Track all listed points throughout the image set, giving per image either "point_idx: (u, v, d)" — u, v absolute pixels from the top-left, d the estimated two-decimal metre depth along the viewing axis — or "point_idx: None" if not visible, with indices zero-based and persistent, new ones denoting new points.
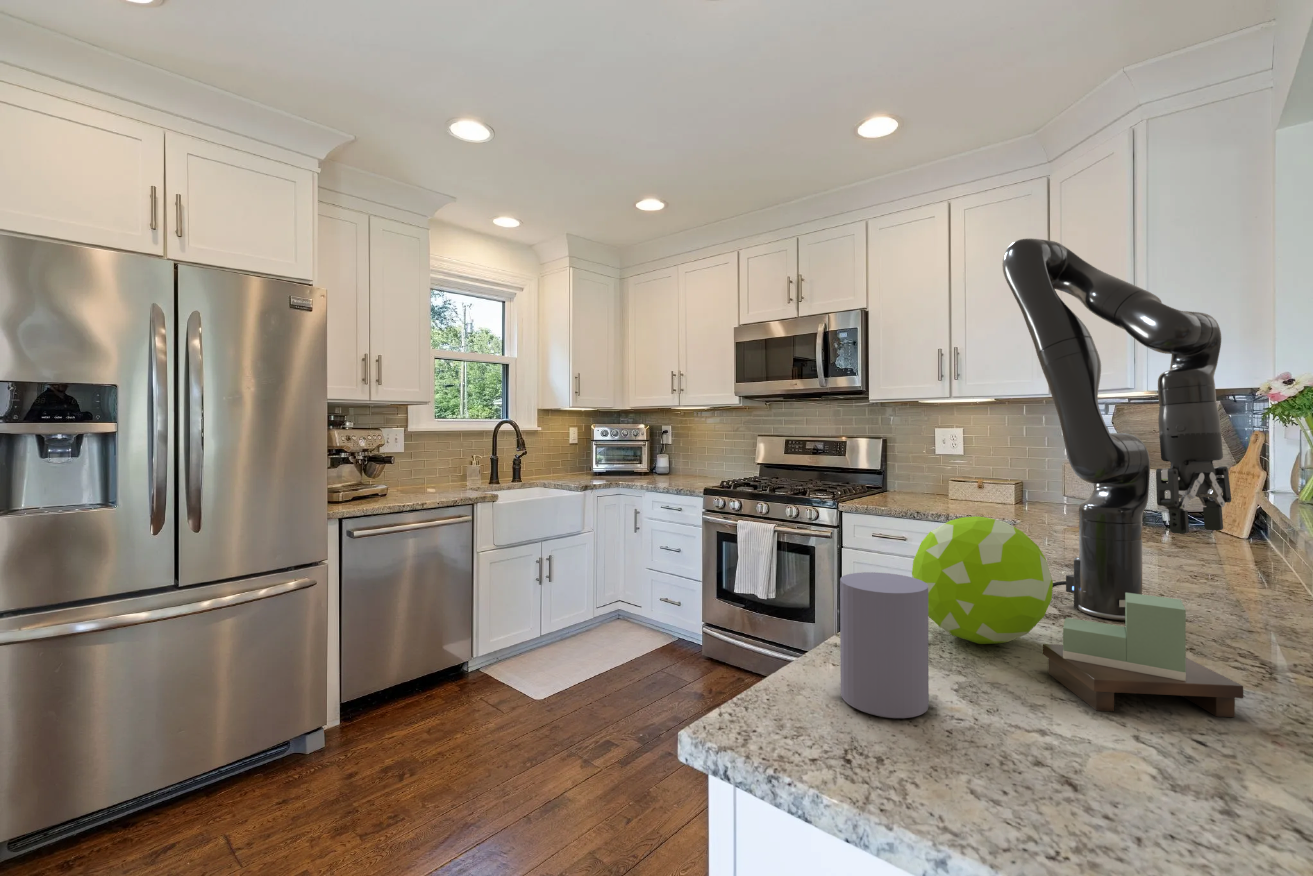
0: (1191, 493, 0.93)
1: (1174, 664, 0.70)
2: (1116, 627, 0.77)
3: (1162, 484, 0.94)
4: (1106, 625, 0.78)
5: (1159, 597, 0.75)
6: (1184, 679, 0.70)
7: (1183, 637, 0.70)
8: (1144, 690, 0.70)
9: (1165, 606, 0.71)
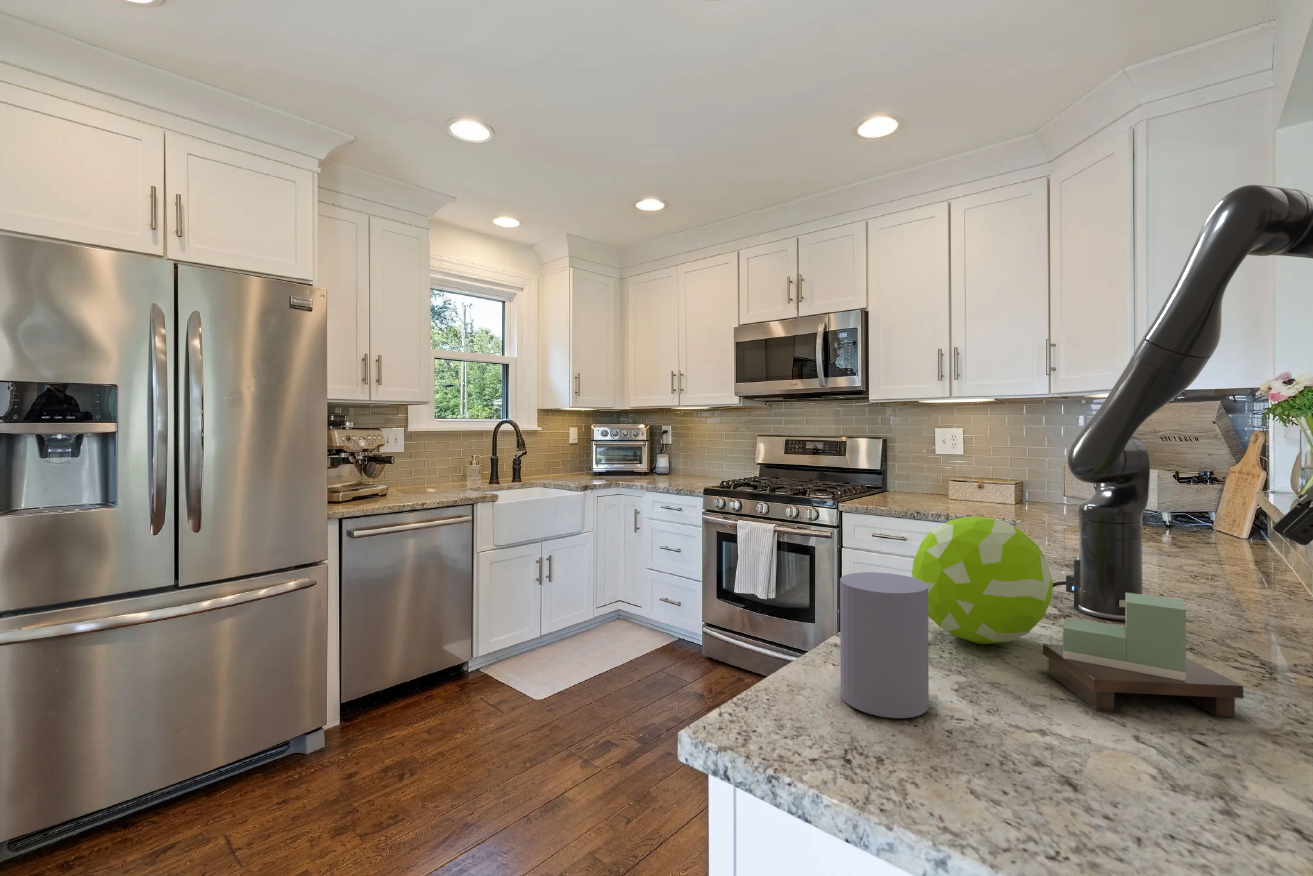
0: None
1: (1174, 664, 0.70)
2: (1116, 627, 0.77)
3: None
4: (1106, 625, 0.78)
5: (1159, 597, 0.75)
6: (1184, 679, 0.70)
7: (1183, 637, 0.70)
8: (1144, 690, 0.70)
9: (1165, 606, 0.71)
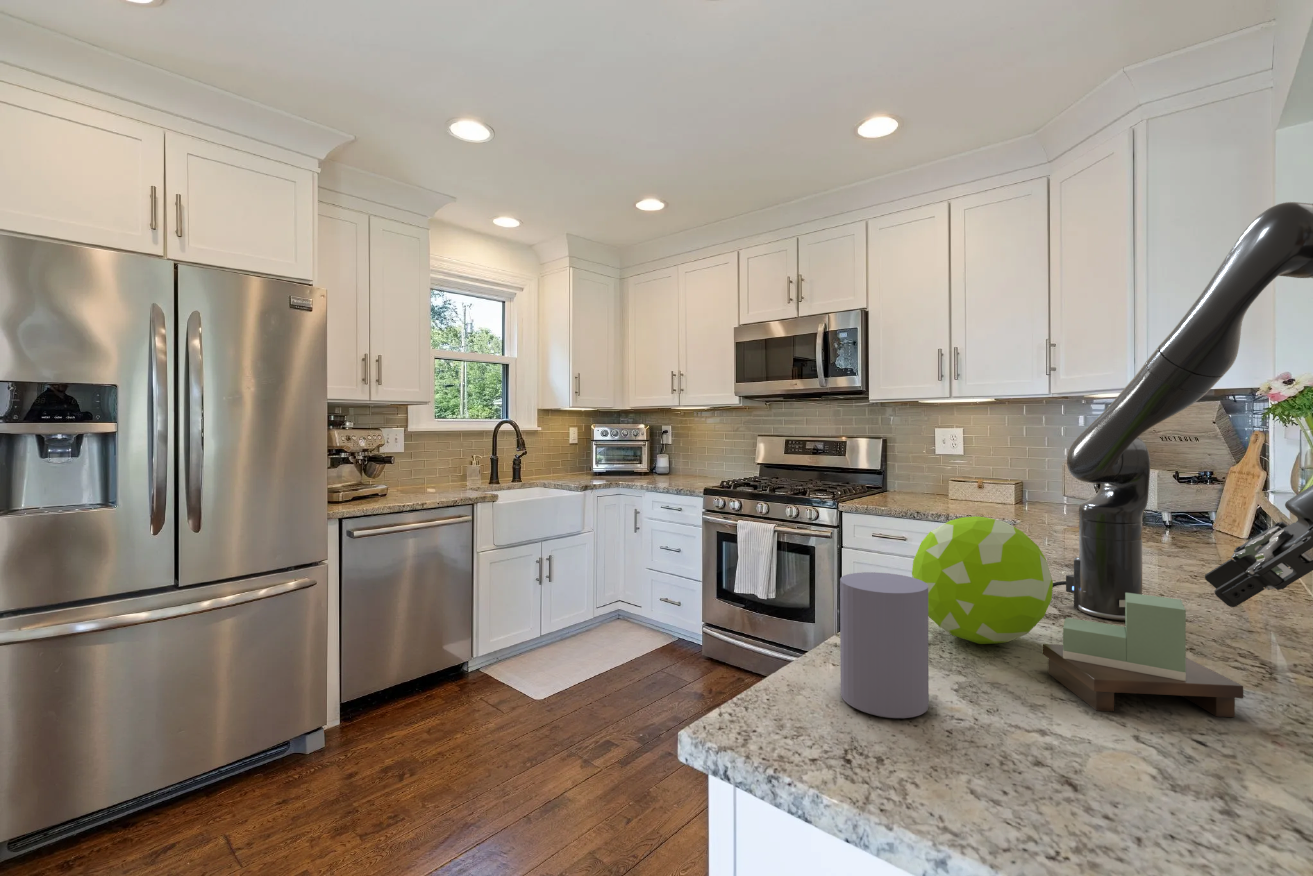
0: None
1: (1174, 664, 0.70)
2: (1116, 627, 0.77)
3: (1296, 559, 0.61)
4: (1106, 625, 0.78)
5: (1159, 597, 0.75)
6: (1184, 679, 0.70)
7: (1183, 637, 0.70)
8: (1144, 690, 0.70)
9: (1165, 606, 0.71)
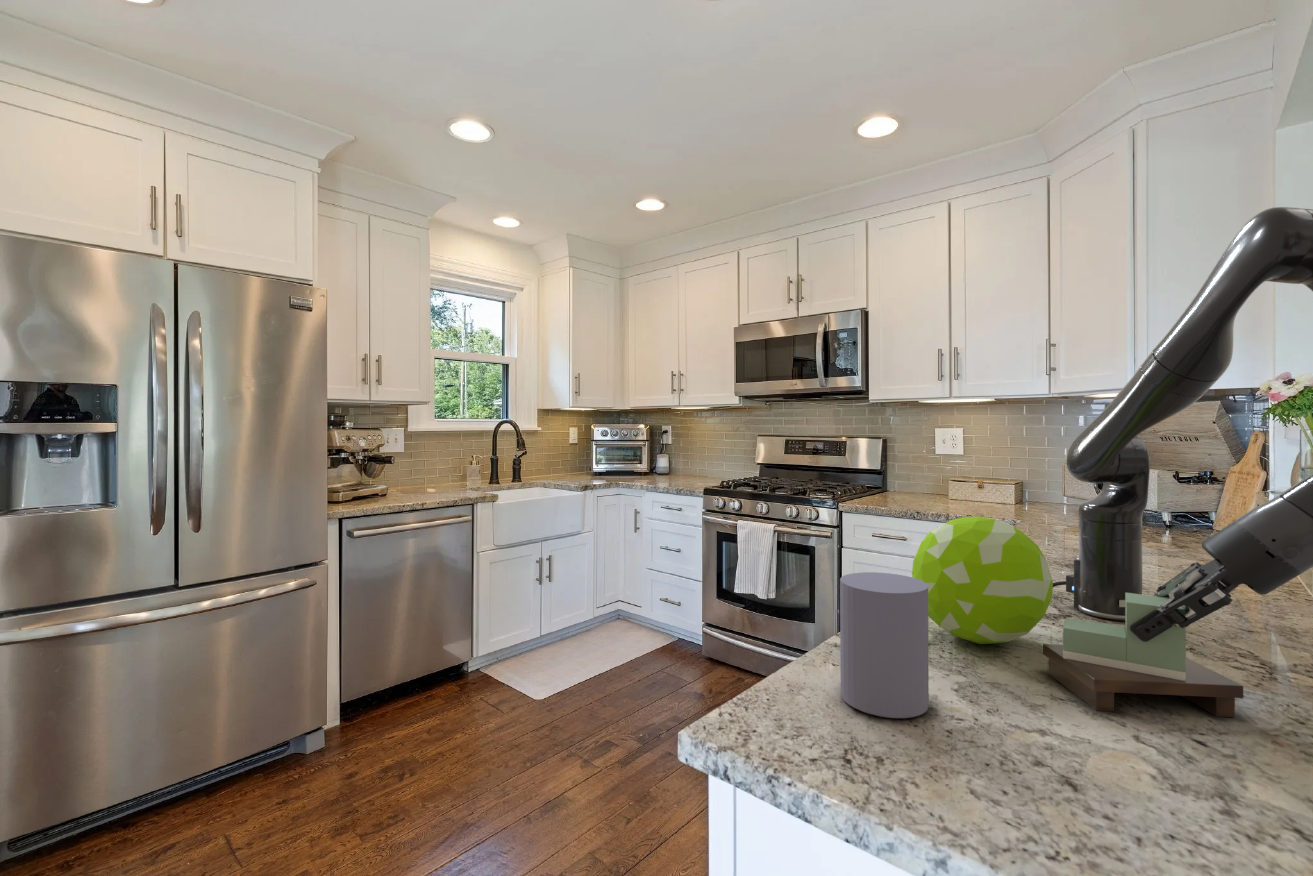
0: None
1: (1174, 664, 0.70)
2: (1116, 627, 0.77)
3: (1196, 602, 0.67)
4: (1106, 625, 0.78)
5: (1159, 597, 0.75)
6: (1184, 679, 0.70)
7: (1183, 637, 0.70)
8: (1144, 690, 0.70)
9: None
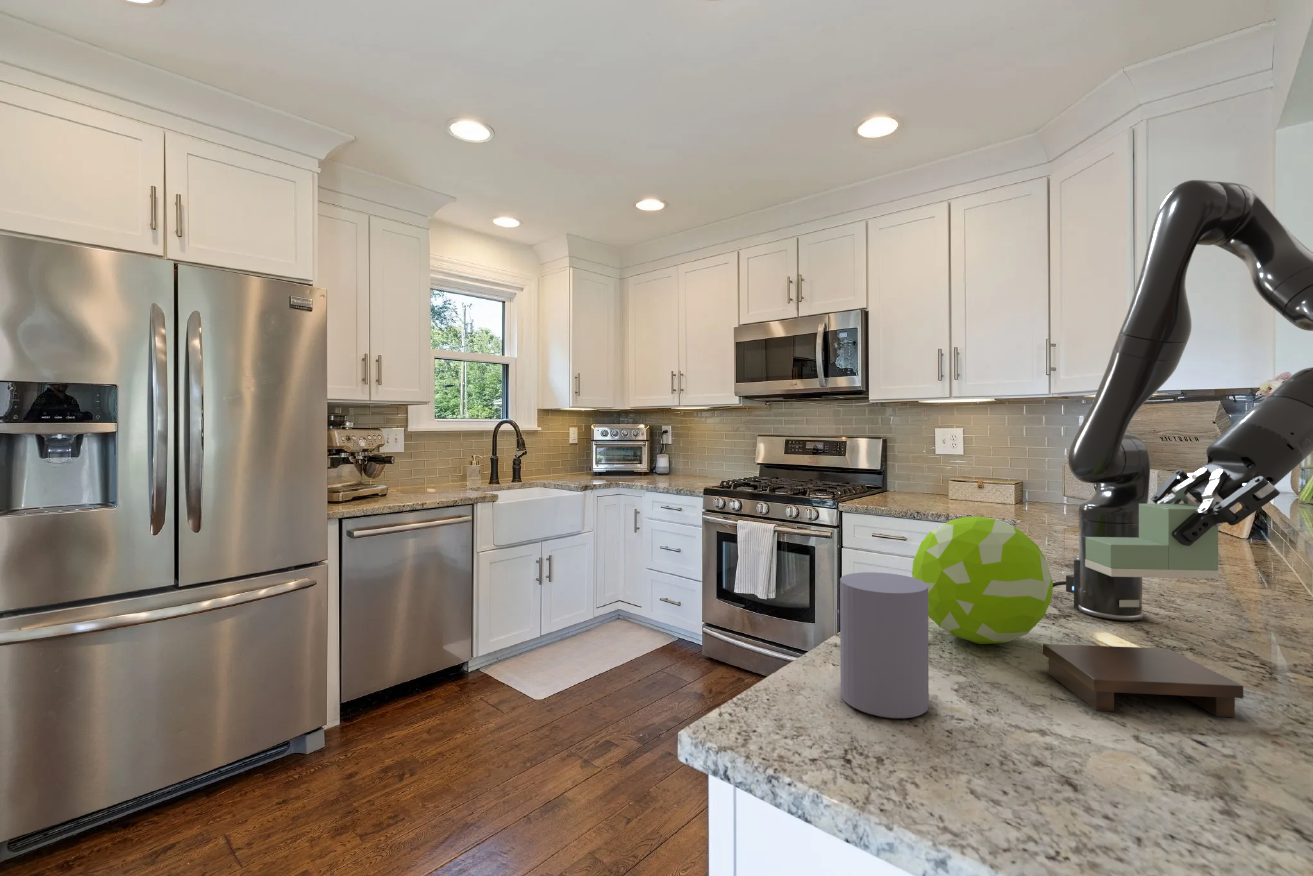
0: None
1: (1209, 564, 0.72)
2: (1137, 539, 0.77)
3: (1250, 497, 0.68)
4: (1127, 538, 0.77)
5: (1169, 504, 0.77)
6: (1217, 577, 0.72)
7: (1216, 536, 0.72)
8: (1144, 690, 0.70)
9: None
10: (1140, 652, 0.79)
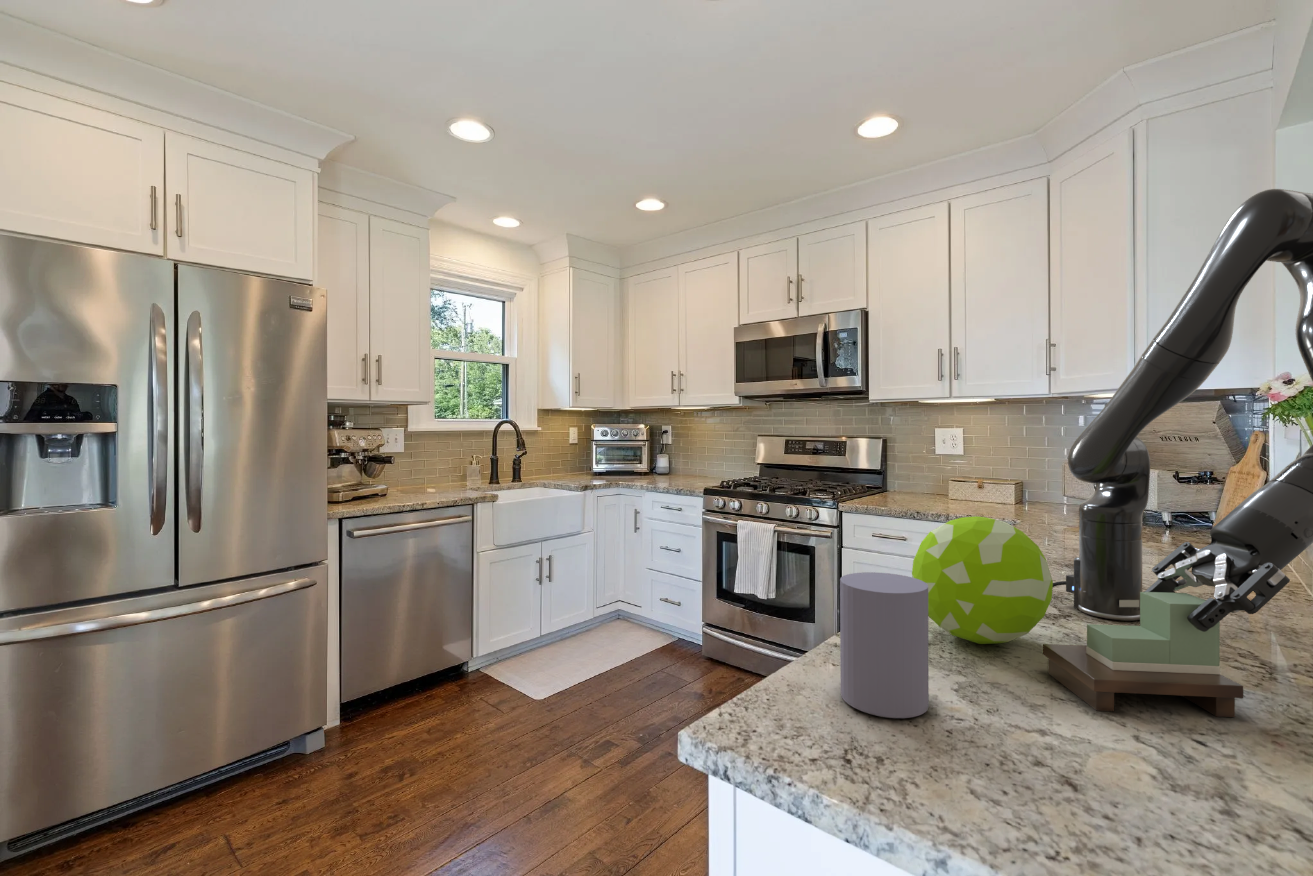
0: None
1: (1210, 659, 0.72)
2: (1138, 628, 0.77)
3: (1264, 584, 0.67)
4: (1128, 627, 0.77)
5: (1171, 593, 0.77)
6: (1219, 673, 0.72)
7: (1217, 632, 0.72)
8: (1144, 690, 0.70)
9: (1200, 603, 0.72)
10: None
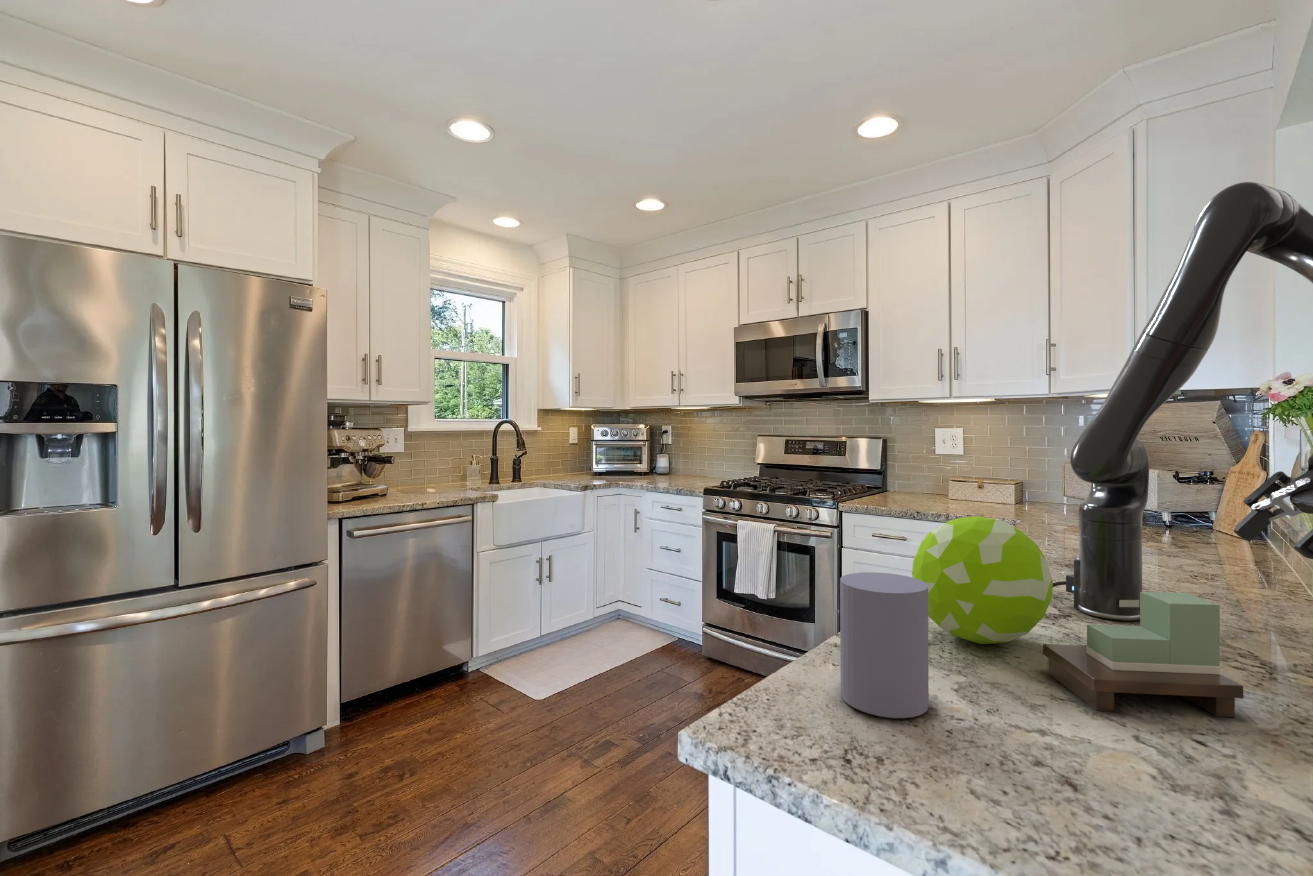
0: None
1: (1210, 659, 0.72)
2: (1138, 628, 0.77)
3: None
4: (1128, 627, 0.77)
5: (1171, 593, 0.77)
6: (1219, 673, 0.72)
7: (1217, 632, 0.72)
8: (1144, 690, 0.70)
9: (1200, 603, 0.72)
10: None
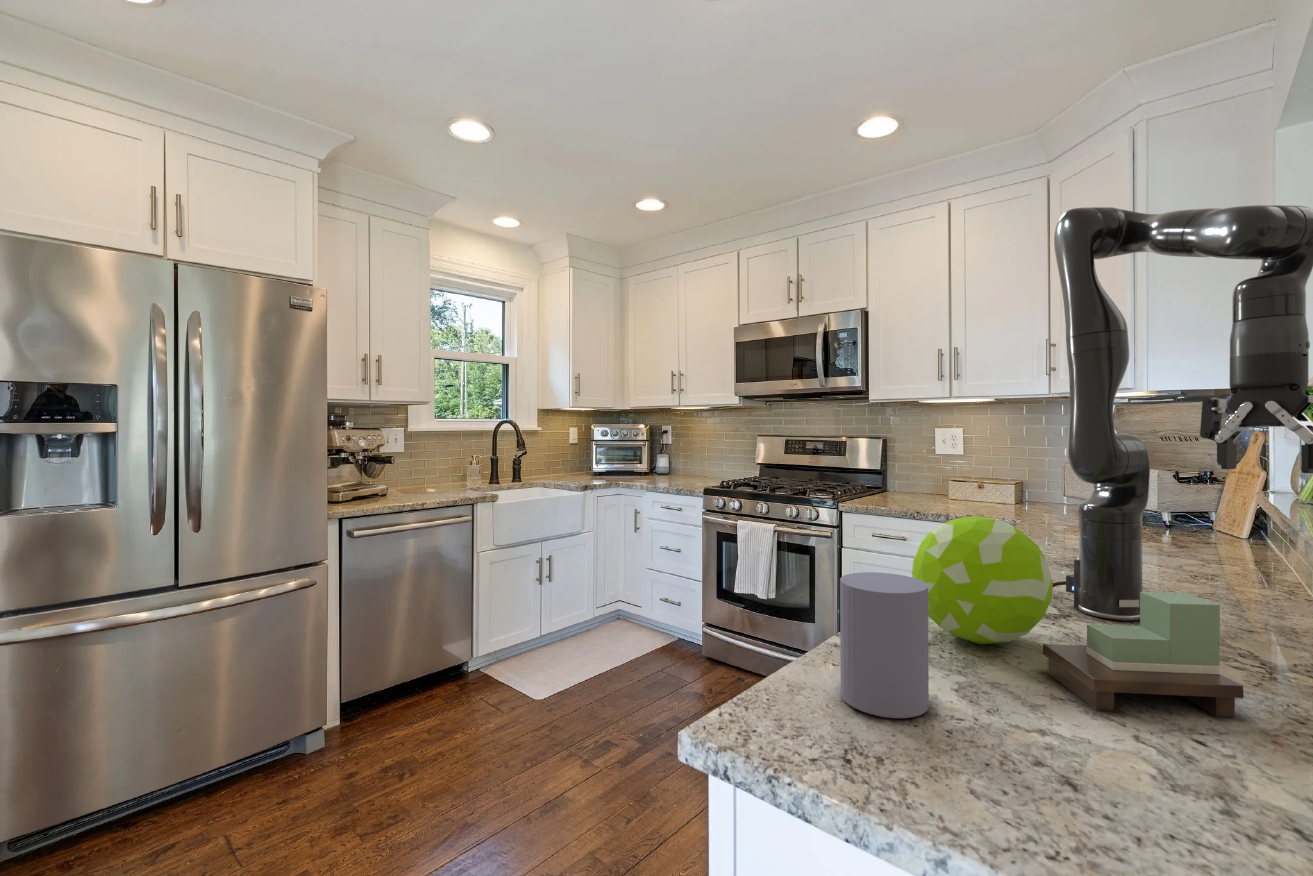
0: None
1: (1210, 659, 0.72)
2: (1138, 628, 0.77)
3: None
4: (1128, 627, 0.77)
5: (1171, 593, 0.77)
6: (1219, 673, 0.72)
7: (1217, 632, 0.72)
8: (1144, 690, 0.70)
9: (1200, 603, 0.72)
10: None
